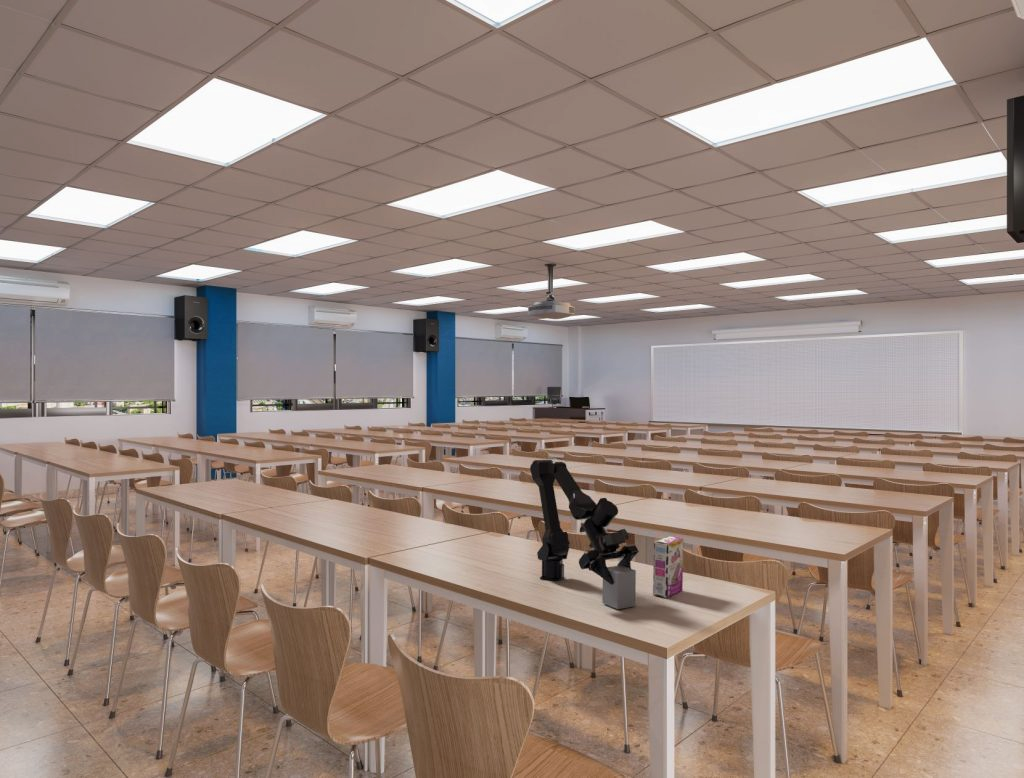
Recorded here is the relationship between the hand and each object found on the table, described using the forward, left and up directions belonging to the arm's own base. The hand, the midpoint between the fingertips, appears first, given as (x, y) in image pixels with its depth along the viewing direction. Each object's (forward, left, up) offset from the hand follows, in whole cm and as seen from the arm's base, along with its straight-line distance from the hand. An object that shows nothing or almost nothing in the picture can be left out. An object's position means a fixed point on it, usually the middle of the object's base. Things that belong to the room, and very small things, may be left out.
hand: (622, 582), depth 181 cm
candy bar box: (+10, +19, -7) cm, 23 cm away
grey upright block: (-1, +1, -7) cm, 7 cm away
